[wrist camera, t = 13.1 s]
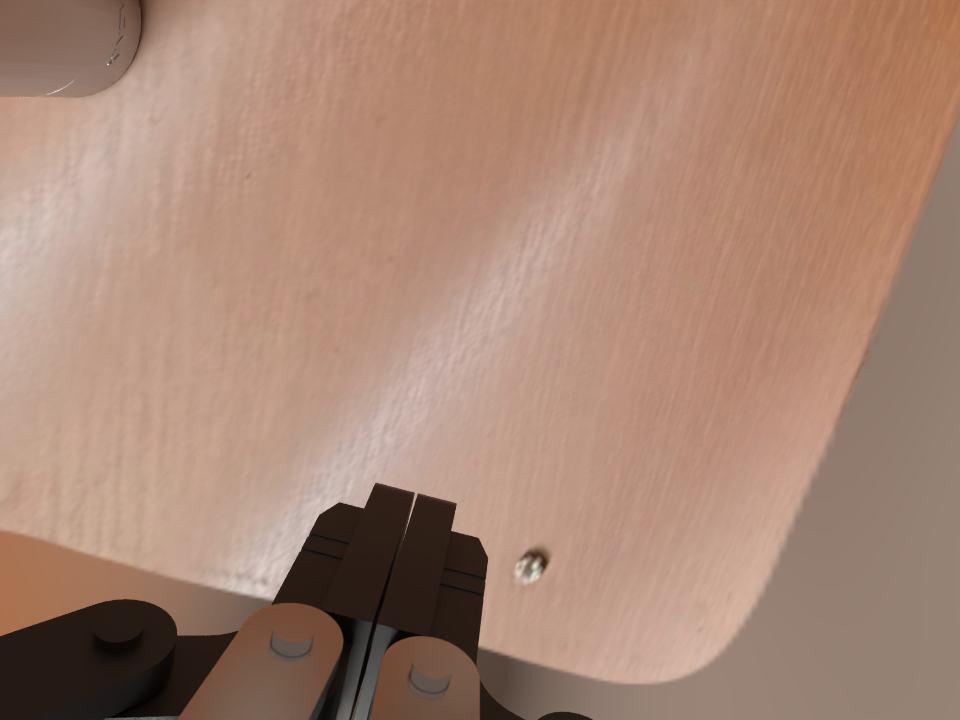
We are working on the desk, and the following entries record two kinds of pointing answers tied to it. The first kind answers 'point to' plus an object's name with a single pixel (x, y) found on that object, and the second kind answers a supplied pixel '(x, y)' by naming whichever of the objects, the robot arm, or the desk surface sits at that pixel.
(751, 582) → the desk surface
